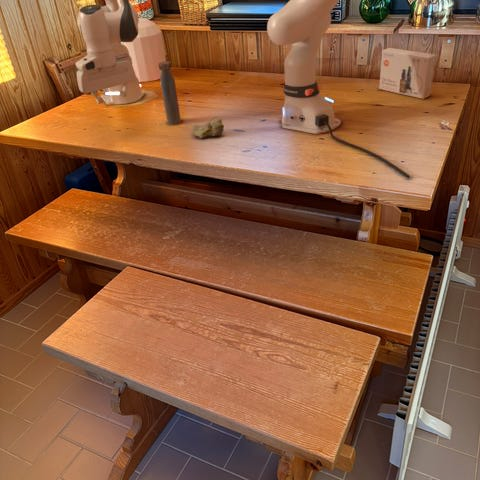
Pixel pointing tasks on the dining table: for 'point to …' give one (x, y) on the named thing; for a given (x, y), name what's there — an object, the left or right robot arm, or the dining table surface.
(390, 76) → the skincare box
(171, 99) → the bottle
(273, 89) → the dining table surface
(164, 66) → the cap
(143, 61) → the container
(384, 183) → the dining table surface
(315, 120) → the right robot arm
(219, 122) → the rock
